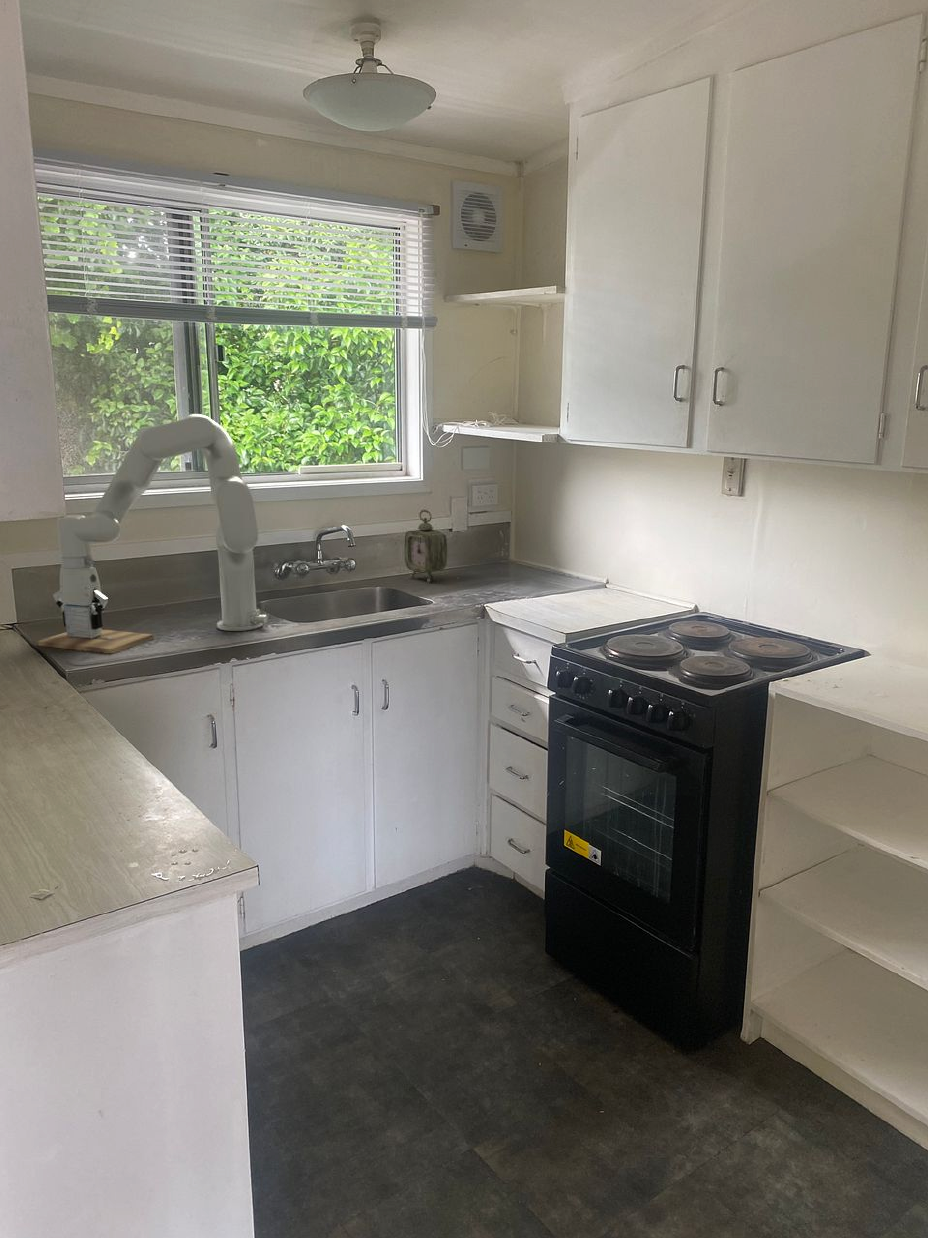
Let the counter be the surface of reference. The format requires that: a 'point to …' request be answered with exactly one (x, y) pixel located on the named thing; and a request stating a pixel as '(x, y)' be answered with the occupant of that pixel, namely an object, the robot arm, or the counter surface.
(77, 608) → the medicine box
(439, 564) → the tabletop clock
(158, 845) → the counter surface
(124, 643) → the light brown wooden board
